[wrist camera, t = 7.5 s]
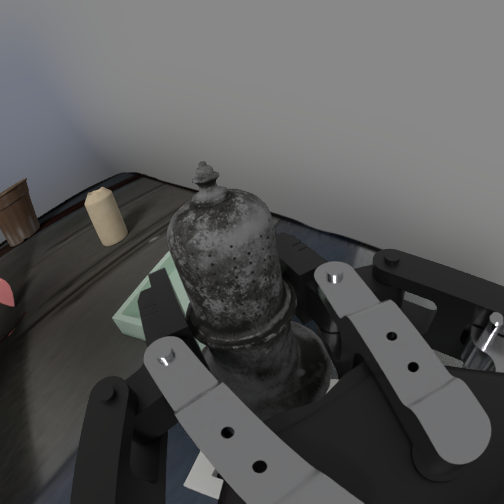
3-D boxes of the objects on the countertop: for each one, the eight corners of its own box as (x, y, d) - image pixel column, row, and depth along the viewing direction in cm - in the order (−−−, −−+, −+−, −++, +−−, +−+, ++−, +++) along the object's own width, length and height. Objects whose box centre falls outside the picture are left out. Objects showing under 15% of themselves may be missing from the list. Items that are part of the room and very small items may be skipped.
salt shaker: (194, 398, 14) (80, 189, 8) (279, 342, 17) (237, 128, 10) (258, 480, 10) (103, 270, 3) (353, 404, 12) (380, 144, 6)
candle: (128, 227, 53) (109, 180, 47) (128, 239, 49) (107, 188, 43) (103, 237, 52) (83, 192, 46) (101, 250, 47) (79, 201, 42)
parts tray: (122, 333, 29) (111, 317, 28) (183, 255, 40) (178, 240, 39) (243, 364, 23) (237, 347, 22) (286, 260, 34) (284, 243, 33)
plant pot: (20, 231, 75) (2, 190, 66) (53, 216, 76) (34, 172, 68) (-1, 257, 62) (-24, 211, 53) (32, 241, 63) (8, 190, 54)
